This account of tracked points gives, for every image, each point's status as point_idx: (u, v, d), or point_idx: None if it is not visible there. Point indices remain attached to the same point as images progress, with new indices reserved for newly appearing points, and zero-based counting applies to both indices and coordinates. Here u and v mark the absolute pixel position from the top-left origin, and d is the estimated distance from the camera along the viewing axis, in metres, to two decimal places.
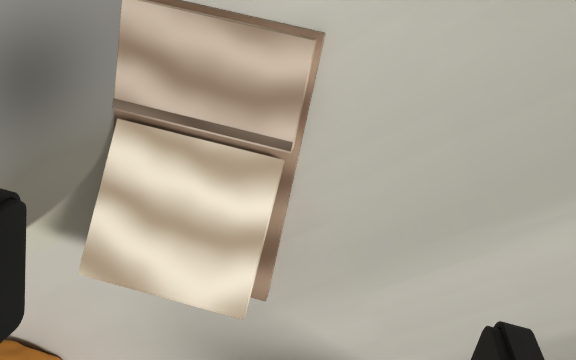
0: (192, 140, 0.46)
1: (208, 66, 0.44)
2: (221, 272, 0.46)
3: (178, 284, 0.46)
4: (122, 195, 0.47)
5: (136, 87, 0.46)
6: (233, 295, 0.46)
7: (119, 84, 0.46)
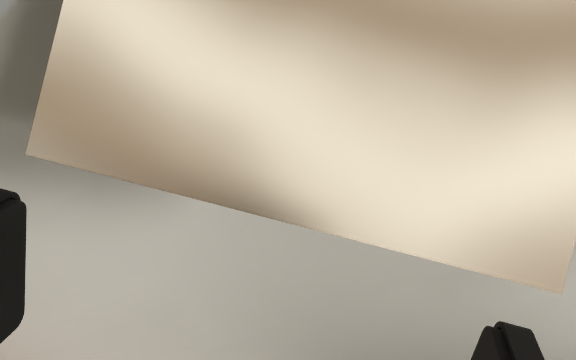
0: None
1: None
2: (487, 141, 0.14)
3: (345, 182, 0.14)
4: None
5: None
6: (530, 214, 0.14)
7: None
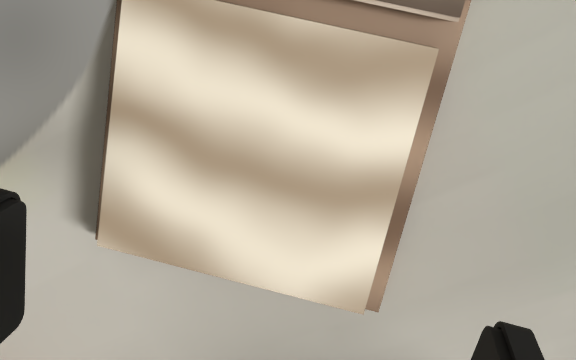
0: (265, 16, 0.25)
1: None
2: (326, 244, 0.28)
3: (257, 262, 0.29)
4: (150, 121, 0.27)
5: None
6: (348, 278, 0.28)
7: None
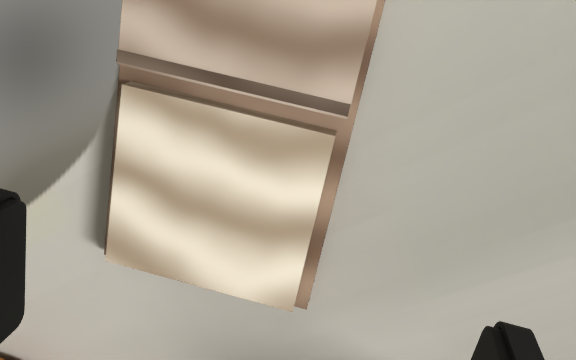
0: (218, 111, 0.36)
1: (242, 4, 0.34)
2: (265, 263, 0.40)
3: (217, 274, 0.41)
4: (141, 177, 0.39)
5: (147, 34, 0.35)
6: (280, 287, 0.40)
7: (125, 30, 0.36)
